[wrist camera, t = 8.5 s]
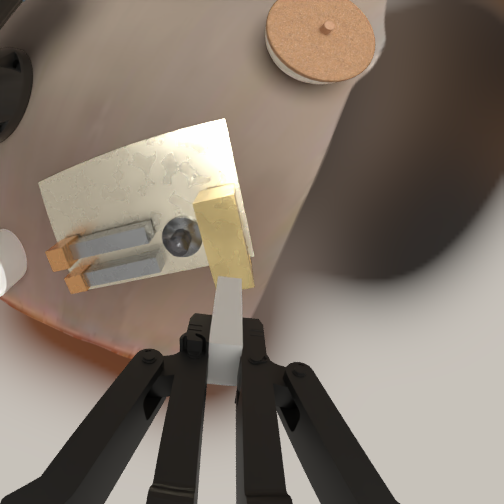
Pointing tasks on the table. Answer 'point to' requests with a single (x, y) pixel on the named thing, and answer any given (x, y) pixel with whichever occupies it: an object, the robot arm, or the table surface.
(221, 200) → the tan rectangular block
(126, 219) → the tongs base
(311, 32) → the lidded jar
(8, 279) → the base with upright slab
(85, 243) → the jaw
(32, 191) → the table surface
